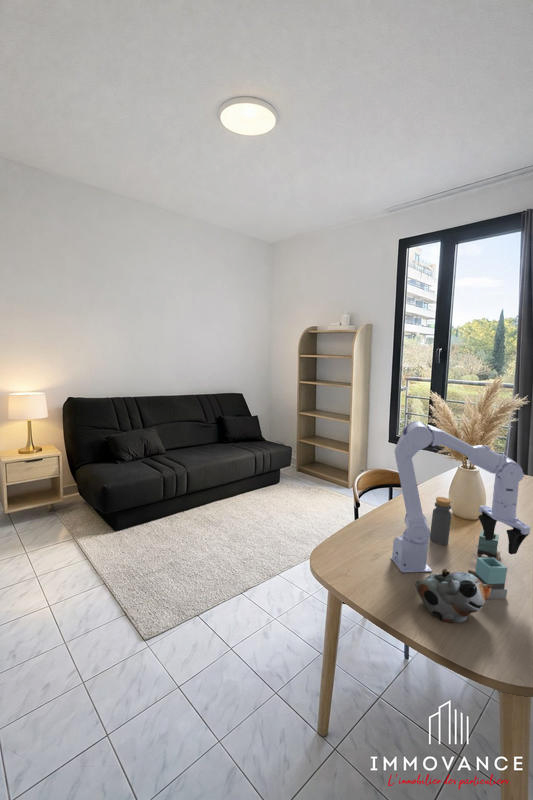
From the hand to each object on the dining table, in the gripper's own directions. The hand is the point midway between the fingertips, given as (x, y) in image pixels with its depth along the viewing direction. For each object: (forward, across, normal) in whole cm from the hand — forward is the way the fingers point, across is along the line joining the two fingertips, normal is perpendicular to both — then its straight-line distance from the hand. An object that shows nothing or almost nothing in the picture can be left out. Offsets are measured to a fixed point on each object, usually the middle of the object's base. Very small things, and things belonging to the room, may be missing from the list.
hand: (500, 546), depth 105 cm
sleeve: (+8, -3, +7) cm, 11 cm away
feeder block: (+10, -3, +7) cm, 13 cm away
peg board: (+10, +7, -3) cm, 13 cm away
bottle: (+10, +23, 0) cm, 25 cm away
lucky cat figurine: (+10, -7, +23) cm, 26 cm away
